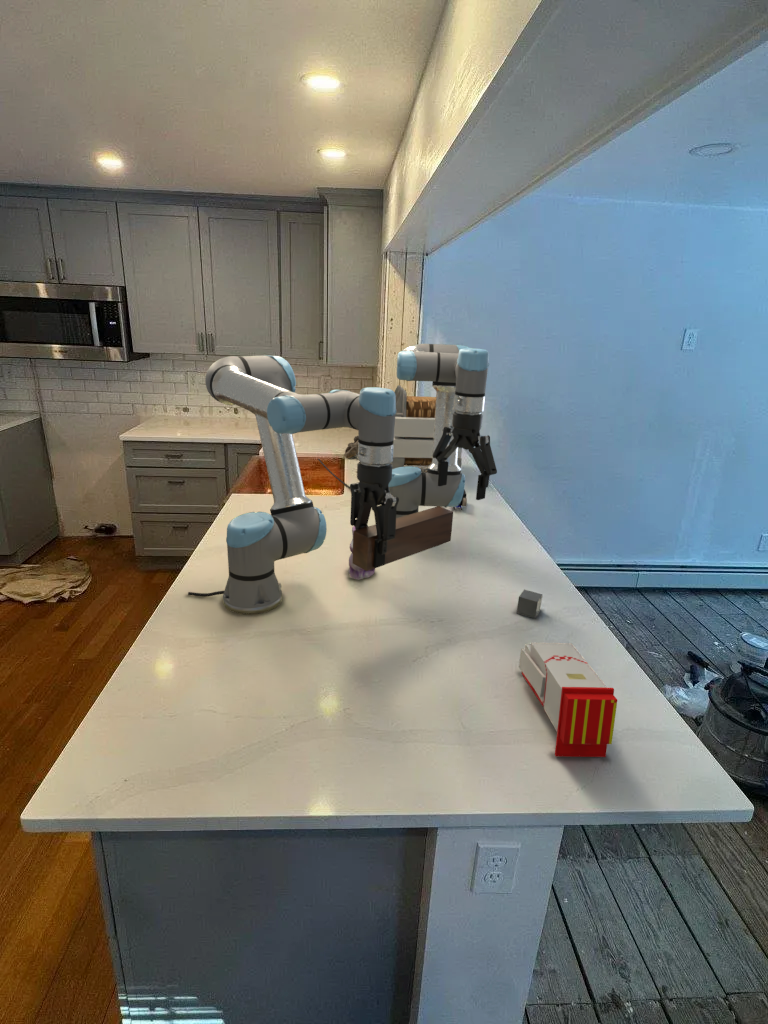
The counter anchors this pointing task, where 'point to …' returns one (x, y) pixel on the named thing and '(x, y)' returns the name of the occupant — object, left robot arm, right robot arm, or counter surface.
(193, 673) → the counter surface
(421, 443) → the grey wooden crate
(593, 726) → the toy
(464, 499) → the figurine character
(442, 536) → the walnut bar
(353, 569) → the figurine
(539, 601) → the slate cube
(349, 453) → the fossil
